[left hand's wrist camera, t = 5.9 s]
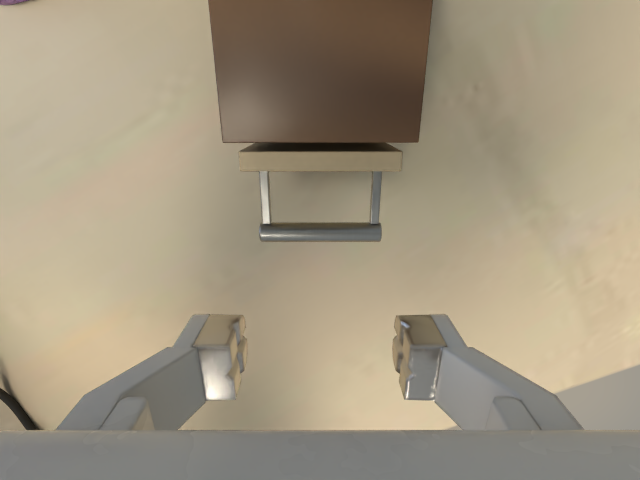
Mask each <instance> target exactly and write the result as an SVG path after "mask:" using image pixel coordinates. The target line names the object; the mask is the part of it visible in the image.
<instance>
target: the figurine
mask: <svg viewBox="0 0 640 480" xmlns="http://www.w3.org/2000/svg"><path fill="white" fill-rule="evenodd" d="M24 1H28V0H0V5H12V4H16V3H20V2H24Z"/></svg>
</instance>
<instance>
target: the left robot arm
mask: <svg viewBox="0 0 640 480" xmlns="http://www.w3.org/2000/svg"><path fill="white" fill-rule="evenodd" d="M245 328H246V325H245V318H244V316H243V315H219V314H211V315H210V314H195V315H193V316H192V317H191V318H190V320H189V321H188V323H187V325H186V326H185V328H184V329H183V331H182V333H181V334H180V336H179V337H178V339H177V341H176V342H175V344H174V345H173V347H167V348H165V349H164V350H162V351H160V352H158V353H157V354H155V355H153V356H151V357H150V358H148V359H146V360H144V361H143V362H141V363H139V364H137V365H136V366H134V367H132V368H131V369H129V370H127V371H125V372H124V373H122V374H120V375H118V376H117V377H115V378H113V379H111V380H110V381H108V382H106V383H104V384H103V385H101V386H99V387H98V388H96V389H94V390H92V391H91V392H89V393H87V394H85V395H84V396H83V397H82V398H81V400H80V401H79V402H78V403H77V404H76V406H75V407H74V408H73V409H72V411H71V412H70V413H69V414H68V415H67V417H66V418H65V419H64V420H63V421H62V423H61V424H60V425H59V426H58V427H57V429H56V430H37V429H36V427H35V426H34V424H33V423H32V422H31V420H30V419H29V417H28V416H27V415H26V413H25V412H24V410H23V409H22V408H21V407H20V405H19V404H18V403H17V402H16V401H15V400H14V399H13V398H12V397H11V396H10V395H9V394H8V393H6V392H5V391H4V390H2V389H0V399H1V400H2V401H3V402H4V403H5V404H6V405H7V406H8V407H9V408H10V409H11V410H12V411H13V412H14V413H15V415H16V416H17V417H18V419H19V420H20V421H21V423H22V424H23V426H24V427H25V428H26V430H0V480H640V430H584V429H583V427H582V426H581V425H580V424H579V423H578V421H577V420H576V419H575V418H574V416H573V415H572V414H571V413H570V412H569V410H568V409H567V408H566V407H565V406H564V404H563V403H562V402H561V401H560V400H559V398H558V397H557V396H556V395H554V394H553V393H551V392H549V391H547V390H546V389H544V388H542V387H540V386H539V385H537V384H535V383H534V382H532V381H530V380H528V379H527V378H525V377H523V376H521V375H520V374H518V373H516V372H514V371H513V370H511V369H509V368H508V367H506V366H504V365H502V364H501V363H499V362H497V361H495V360H494V359H492V358H490V357H489V356H487V355H485V354H483V353H482V352H480V351H478V350H476V349H475V348H473V347H467V345H466V344H465V342H464V341H463V339H462V338H461V336H460V334H459V333H458V331H457V330H456V328H455V327H454V325H453V323H452V322H451V320H450V319H449V317H448V316H447V315H446V314H432V315H396V318H395V324H394V328H395V331H396V334H397V335H396V336H395V338H394V339H393V348H392V350H393V361H394V366H395V370H396V371H397V372H398V373H399V374H400V377H399V383H400V387H401V390H402V393H403V397H404V400H432V401H434V402H435V403H436V404H437V405H438V406H439V407H440V408H441V409H442V410H443V411H444V412H445V413H446V414H447V415H448V416H449V417H450V418H451V419H452V420H453V421H454V422H455V423H456V424H457V425H458V426H459V427H460V428H461V429H462V430H178V429H179V428H180V427H181V426H182V425H183V424H184V423H185V422H186V421H187V420H188V419H189V418H190V417H191V416H192V415H193V414H194V413H195V412H196V411H197V410H198V409H199V408H200V407H201V406H202V405H203V404H204V403H205V401H208V400H236V397H237V393H238V390H239V387H240V383H241V377H240V374H241V373H242V372H243V371H244V370H245V366H246V361H247V339H246V338H245V337H244V335H243V334H244V331H245Z"/></svg>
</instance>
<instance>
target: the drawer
mask: <svg viewBox="0 0 640 480" xmlns="http://www.w3.org/2000/svg"><path fill="white" fill-rule="evenodd" d="M402 154H403V152H402V151H400V150H398V149H396V148H395V147H393V146H391V145H389V144H387V143H254V144H253V145H251V146H249V147H247V148H245V149H243V150H241V151H239V164H240V171H259V177H260V193H261V208H262V223H261V224H260V229H259V235H260V240H261V242H380V241H381V236H382V228H381V224H380V223H379V209H380V194H381V178H382V171H401V165H402ZM269 171H372V184H371V202H370V220H369V221H370V223H271V222H272V219H271V201H270V183H269Z"/></svg>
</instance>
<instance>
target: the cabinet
mask: <svg viewBox="0 0 640 480" xmlns="http://www.w3.org/2000/svg"><path fill="white" fill-rule="evenodd" d="M208 2H209V12H210V22H211V32H212V42H213V52H214V62H215V71H216V81H217V91H218V101H219V111H220V121H221V131H222V140H223V143H417V142H418V141H419V131H420V121H421V111H422V101H423V92H424V82H425V72H426V62H427V52H428V42H429V32H430V22H431V12H432V2H433V0H208Z"/></svg>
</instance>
